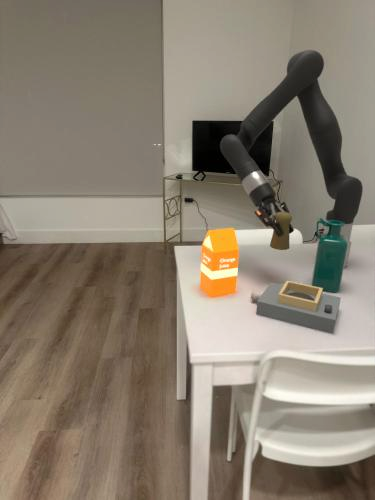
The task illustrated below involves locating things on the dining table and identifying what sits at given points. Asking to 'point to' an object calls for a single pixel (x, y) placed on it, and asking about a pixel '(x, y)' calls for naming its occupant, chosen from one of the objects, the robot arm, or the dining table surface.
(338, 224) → the pitcher
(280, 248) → the cork
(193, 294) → the dining table surface
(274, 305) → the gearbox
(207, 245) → the orange juice
